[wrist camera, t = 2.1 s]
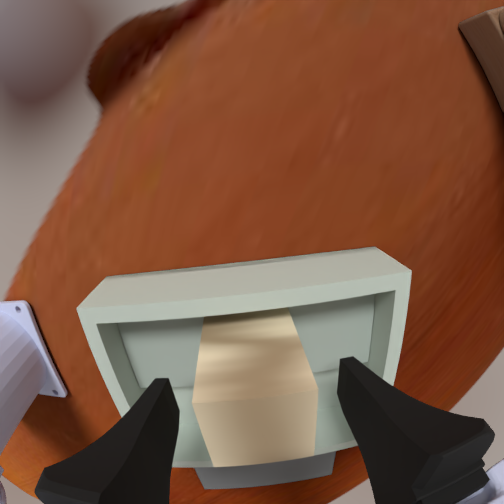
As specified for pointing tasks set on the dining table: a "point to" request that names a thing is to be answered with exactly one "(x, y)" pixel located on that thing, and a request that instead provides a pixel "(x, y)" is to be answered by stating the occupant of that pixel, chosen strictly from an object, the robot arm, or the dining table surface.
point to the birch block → (254, 389)
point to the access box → (248, 300)
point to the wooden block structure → (488, 46)
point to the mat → (266, 472)
